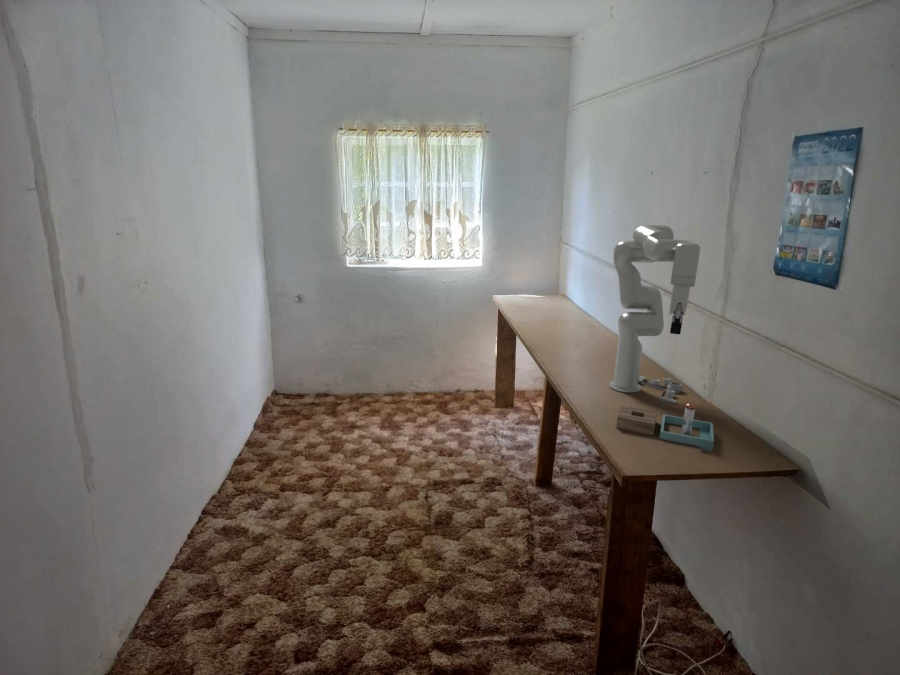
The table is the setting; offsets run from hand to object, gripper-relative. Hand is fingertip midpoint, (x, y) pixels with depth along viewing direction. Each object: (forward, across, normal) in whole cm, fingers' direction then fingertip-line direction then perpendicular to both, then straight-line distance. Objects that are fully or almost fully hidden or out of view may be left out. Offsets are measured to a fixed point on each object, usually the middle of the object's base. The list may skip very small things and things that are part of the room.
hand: (675, 330), depth 197 cm
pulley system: (+34, -34, -1) cm, 48 cm away
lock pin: (+33, +10, +8) cm, 35 cm away
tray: (+33, +10, +8) cm, 36 cm away
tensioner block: (+33, +10, -8) cm, 36 cm away
